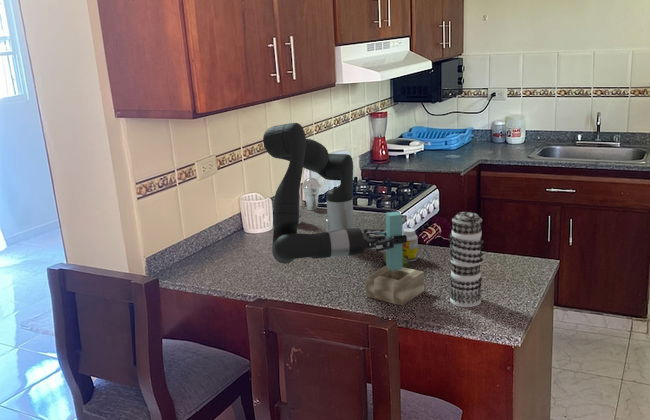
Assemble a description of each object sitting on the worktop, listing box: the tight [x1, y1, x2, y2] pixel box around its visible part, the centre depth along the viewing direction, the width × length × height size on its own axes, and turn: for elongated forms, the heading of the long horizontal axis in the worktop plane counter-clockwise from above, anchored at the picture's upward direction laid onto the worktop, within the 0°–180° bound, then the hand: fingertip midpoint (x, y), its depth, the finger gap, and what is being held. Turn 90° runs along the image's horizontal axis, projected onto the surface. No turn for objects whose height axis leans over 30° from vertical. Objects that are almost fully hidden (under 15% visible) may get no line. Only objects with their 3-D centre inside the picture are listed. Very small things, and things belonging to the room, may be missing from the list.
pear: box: [383, 251, 410, 268], centre depth 198 cm, size 6×5×10 cm
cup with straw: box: [301, 170, 321, 211], centre depth 269 cm, size 8×9×20 cm
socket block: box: [365, 265, 425, 306], centre depth 177 cm, size 12×12×6 cm
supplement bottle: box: [402, 227, 419, 263], centre depth 203 cm, size 6×6×10 cm
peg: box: [385, 211, 403, 271], centre depth 173 cm, size 4×4×16 cm
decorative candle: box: [448, 211, 485, 308], centre depth 168 cm, size 9×9×25 cm
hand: (403, 236), depth 174 cm, fingers closed on peg, 3 cm apart
